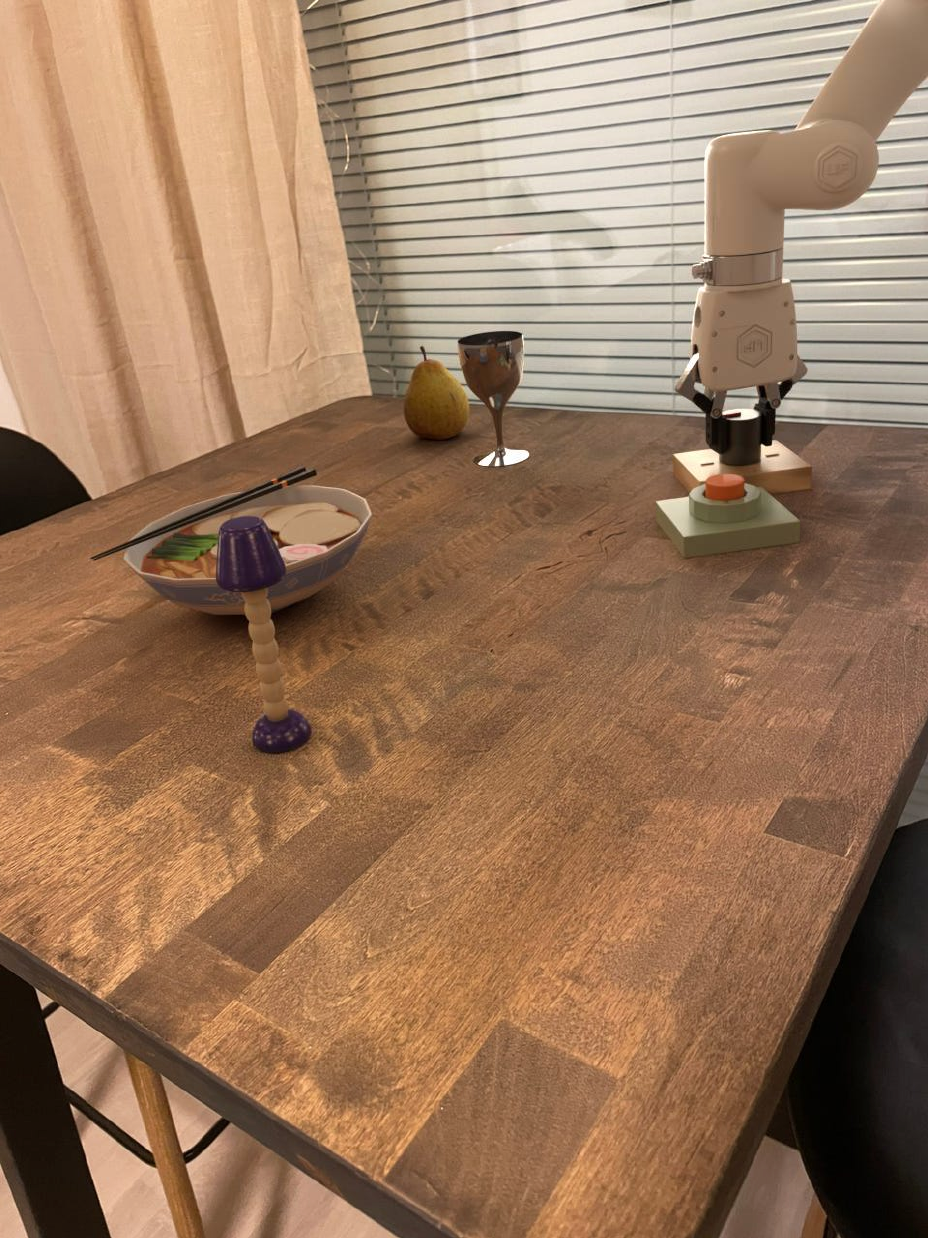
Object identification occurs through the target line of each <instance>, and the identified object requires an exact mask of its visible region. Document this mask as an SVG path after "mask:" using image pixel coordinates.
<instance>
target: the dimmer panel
mask: <svg viewBox="0 0 928 1238" xmlns="http://www.w3.org/2000/svg"><path fill="white" fill-rule="evenodd" d="M718 474H735V475H739V476H741V477H743V478H744V480H745V483H746V484H750V485H753V486H755V487H762V488H763V489H765V490H766V491H767V492H768V493H769V494H770V495H775V494H783V493H790V492H797V491H804V490H811V489H812V479H813V478H812V475H813V465H811V464H810V463H808V462H807V461H806V460H805V459H803V458H802V457H800V456H798V455H797V454H796V453H795V452H793V451H792V450H791V449H789V448H788V447H786V446H785V445H784V444H782V443H781V442H780V441H778V440H777V439H774V440H773V439H772V445H771V446H767V447H766V446H764V445H762V444H761V459H760V461H758V462H757V463H754V464H750V465H743V466H733V465H727V464H723V463H721V462H720V461H719V454H718V453H716V452H715V451H713V450H712V449H710V448H707V449H699V450H693V451H685V452H679V453H673V454H672V476H673V477H675V478H676V480H677V481H678V482H680V484H681V485H682V486H683V487H684V489H686V491H687V492H688V493H689V494H690V493H691V491H692V490H693V489H694V488H696V487H698V486H701V485H703V484H706V479H707V478H708V477H711V476H714V475H718Z"/></svg>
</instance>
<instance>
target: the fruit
mask: <svg viewBox="0 0 928 1238" xmlns="http://www.w3.org/2000/svg"><path fill="white" fill-rule="evenodd" d="M419 349H420V352H421V353H422V356H423V361H421V362H419V363H418V364H417V365H416V366H415V367H414V369H413V370H412V374H411V377H410V380H409V383H408V386H407V389H406V392H405V395H404V399H403V414H404V416H403V417H404V419H405V420H404V421H405V422H406V424H407V427H408V428H409V430H410V431H411V432H412V434H414V435H416V437H418V438H419V439H425V440H437V441H445V440H447V439H450V438H453V437H455V436H457V435H459V434H460V433H461V432H462V431H463V429H464V428H465V427H466V425H467V423H468V421H469V418H470V402H469V398H468V396H467V393H466V391H465V389H464V387H463V385H462V384H461V382H460V381H459V380H458V379H457V378H456V377H455V376H454V374H452V373H451V372H450V371H449V370H448V369H447V368H446V367H445V366H444V365H443V363H441V362H440V361H438V360H436V359H431V358H428V357H427V354H426V349H425V347H424V346H423V345H421V346H420V347H419ZM427 358H428V359H427Z"/></svg>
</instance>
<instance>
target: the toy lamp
mask: <svg viewBox="0 0 928 1238" xmlns="http://www.w3.org/2000/svg"><path fill="white" fill-rule="evenodd" d="M285 575H286V566H285V563H284V561H283V559H282V556H281V554H280V552H279V550H278V548H277V545H276V543H275V541H274V539H273V537H272V535H271V533H270V531H269V529H268V527H267V525H266V523H265V522H264V520H263V519H261V518H259V517H256V516H242V517H237V518H233V519H230V520H227V521H226V522H224V523H223V524H222V525H221V526H220V529H219V535H218V547H217V562H216V581H217V584H218V586H220V587H221V588H222V589H224V590H227V591H231V592H241V595H242V597H243V599H244V600H245V601H246V602H245V607H244V610H245V615H244V616H245V617H246V619H247V621H249V623H248V628H247V629H248V635H249V637H250V639H251V640H252V641H253V642H252V645H251V651H252V655H253V657H254V660H255V661H256V664H255V673H256V675H257V677H258V679H259V680H260V682H259V692H260V695H261V697H262V699H263V703H262V706H263V707H262V708H263V712H264V714H263V715H262V716H261V717H260V718H259V719H258V720H257V722H256V723H255V725H254V727H253V731H252V744H253V746H254V747H255V748H256V749H257V750H259V751H262V752H265V753H274V754H275V753H285V752H288V751H292V750H295V749H296V748H298V747H300V746H302V745H303V744H305V743H306V742H307V741H308V740H309V738H310V736H311V734H312V728H311V725H310V722H309V721H308V720H307V718H306V717H305V715H303V714H302V713H301V712H299V711H297V710H294V709H291V708H289V703H288V700H287V698H286V696H285V694H286V684H285V682H284V680H283V678H282V675H283V666H282V662H281V661H280V659H279V645H278V642H277V640H276V639H275V635H276V629H275V625H274V621H273V620H272V619H271V617H272V613H271V606H270V603H269V601H268V600H267V599H266V597H267V593H268V590H267V588H268V587H271V586H273V585H275V584H277V583H278V582H280V581H281V580H282V579H283V578H284V577H285Z"/></svg>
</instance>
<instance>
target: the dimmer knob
mask: <svg viewBox="0 0 928 1238" xmlns="http://www.w3.org/2000/svg"><path fill="white" fill-rule="evenodd" d="M723 416H724V417H726V419H727V451H726V452H725V454H719V461H720V462H721V463H723V464H727V465H733V466H743V465H750V464H754V463H757V462H758V461H760V459H761V435H762V413H761V412H760V411H758V410H754V408H753V409H752V408H734V409H728V410H725V411H723Z"/></svg>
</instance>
